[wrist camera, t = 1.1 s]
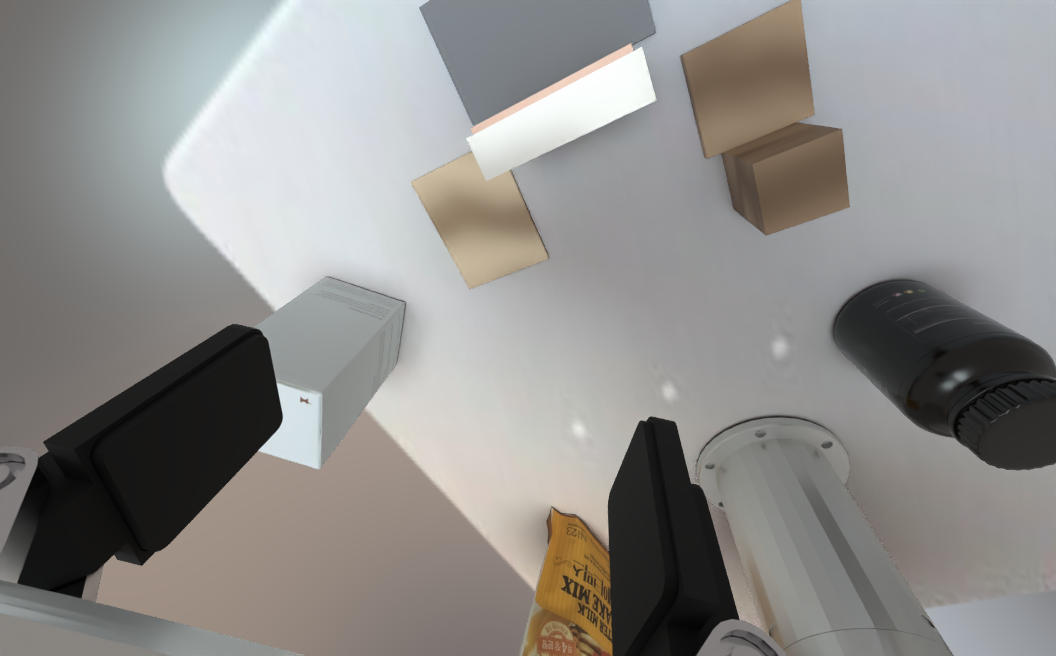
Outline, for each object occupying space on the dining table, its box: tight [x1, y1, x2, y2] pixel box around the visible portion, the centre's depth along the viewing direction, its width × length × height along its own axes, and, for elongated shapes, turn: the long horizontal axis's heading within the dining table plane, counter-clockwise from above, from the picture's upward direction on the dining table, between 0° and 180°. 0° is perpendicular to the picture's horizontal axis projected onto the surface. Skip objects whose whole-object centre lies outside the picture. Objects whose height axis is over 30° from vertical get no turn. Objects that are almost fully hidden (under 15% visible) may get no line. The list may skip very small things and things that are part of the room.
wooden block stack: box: [680, 0, 850, 235], centre depth 22 cm, size 10×6×6 cm, turn 24°
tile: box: [466, 43, 656, 181], centre depth 22 cm, size 2×8×10 cm, turn 114°
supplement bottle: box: [834, 281, 1056, 470], centre depth 25 cm, size 7×7×12 cm
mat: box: [419, 0, 656, 126], centre depth 24 cm, size 7×12×1 cm, turn 114°
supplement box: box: [253, 277, 405, 470], centre depth 31 cm, size 7×7×13 cm
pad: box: [411, 152, 549, 289], centre depth 30 cm, size 9×7×1 cm
